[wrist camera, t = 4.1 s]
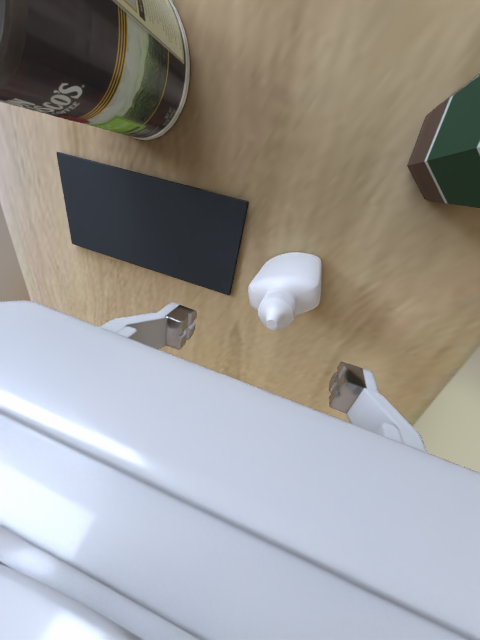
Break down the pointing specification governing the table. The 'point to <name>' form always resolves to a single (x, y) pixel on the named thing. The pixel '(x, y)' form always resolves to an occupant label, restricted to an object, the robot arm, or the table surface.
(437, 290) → the table surface
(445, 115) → the beer bottle
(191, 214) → the mat
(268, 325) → the eye dropper bottle
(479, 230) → the table surface
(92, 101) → the coffee can
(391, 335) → the table surface
